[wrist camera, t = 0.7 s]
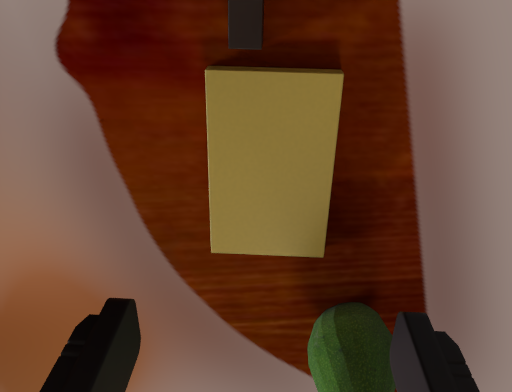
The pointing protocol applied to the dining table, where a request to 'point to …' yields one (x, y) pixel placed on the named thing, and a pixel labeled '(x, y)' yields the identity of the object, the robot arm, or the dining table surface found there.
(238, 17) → the frying pan
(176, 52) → the dining table surface
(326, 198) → the board
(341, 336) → the avocado
